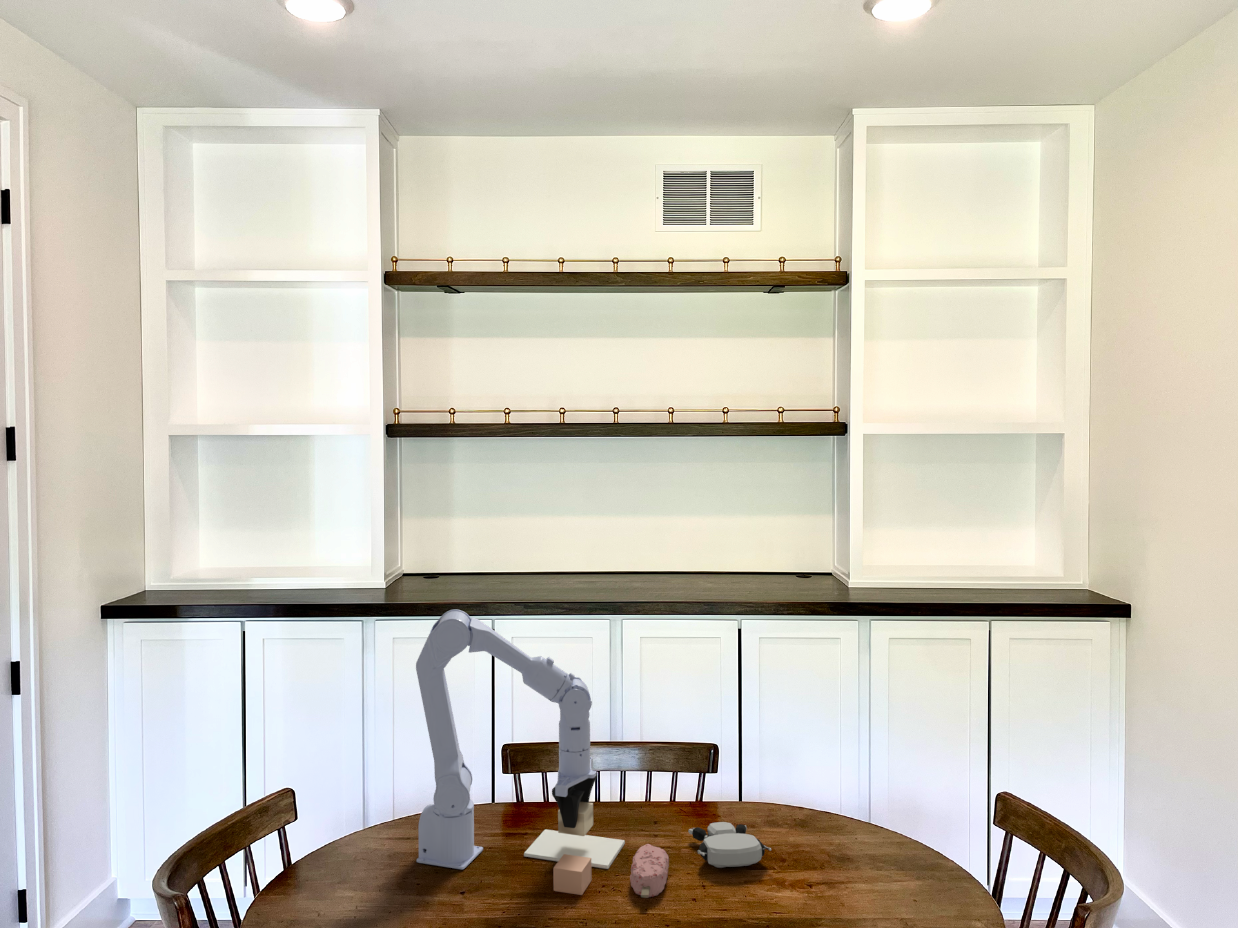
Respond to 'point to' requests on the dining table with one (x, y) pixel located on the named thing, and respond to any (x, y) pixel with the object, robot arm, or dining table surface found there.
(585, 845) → the mat
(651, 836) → the dining table surface
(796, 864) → the dining table surface
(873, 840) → the dining table surface
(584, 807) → the ash brick
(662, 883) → the ice cream bar
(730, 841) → the robot toy
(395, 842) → the dining table surface
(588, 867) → the terracotta brick
